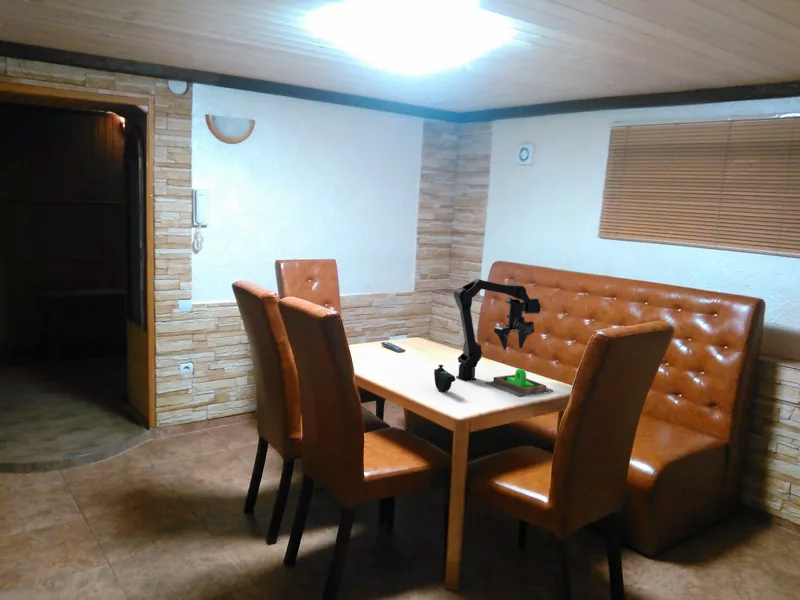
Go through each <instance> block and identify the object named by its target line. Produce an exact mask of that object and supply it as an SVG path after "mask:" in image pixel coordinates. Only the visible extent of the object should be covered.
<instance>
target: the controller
mask: <svg viewBox="0 0 800 600" xmlns="http://www.w3.org/2000/svg"><path fill="white" fill-rule="evenodd" d="M433 370H434V371H433V372H434V373H433V375H434V376H433V377H434V384H435V387H436V390H437V391H439V392H442V393H444V392H445V393H446V392H448V391H450V389H451V387H452V383H454V382H455V381H456V376H455V375H453V374H451V373H450V372H448V370H445V369H444V364H438V367H437V368H434V369H433Z"/></svg>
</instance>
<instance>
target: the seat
mask: <svg viewBox="0 0 800 600" xmlns="http://www.w3.org/2000/svg"><path fill="white" fill-rule="evenodd" d="M507 377H515V374H507V375H500V376H493V381H492V380H491V381H486V382H485V384H486V385H488V384H489V386H491V387H493V386H494V388H495V389H498V388H499V390H501V391H503V390H504V391H503V392H506V393H508V392H509V394H511V395H513V394H514V396H516V397H518V398H520V397H526V396H527V395H528V396H533V395H532V394H534V395H538V394H537V393H541V394H545V393H544V392H547V393H550V392H549V391H553V392H554V389H551V388H548V386H547V385H546V384H542V383H540V382H538V381H534V380H532V379H529V378H527V377H526V381H528V382H530V383H532V384H533V385H534V387H527V388H523V387H521V386H518V385H516V384H513V383H510V382H508V381H507Z"/></svg>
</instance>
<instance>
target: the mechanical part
mask: <svg viewBox="0 0 800 600" xmlns="http://www.w3.org/2000/svg"><path fill="white" fill-rule="evenodd" d="M514 375H515V377H507V381H508V382H510V383H513V384H516V385H518V386H521V387H523V388H527V387H534V385H533V384H532V383H530V382H528V381H526V378H527V374H526V370H525V369H523V368H517V369H516V371H515V373H514Z"/></svg>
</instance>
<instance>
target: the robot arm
mask: <svg viewBox="0 0 800 600" xmlns="http://www.w3.org/2000/svg"><path fill="white" fill-rule="evenodd" d="M481 290H484V291H489V292H496V293H500V294H505V295H507V296H509V297H508V298H507V299H506V300H505V303H506V304H508V305H509V310H508V314H507V315H506V318H507V320H508V321H507V324H506V325H504V326H503V325H498V326H495V327H494V329H493V333H494V334H496V335H497V336H498V338H499V340H500V344H501V346H502V349H503V350H504V351H506V350H507V348H508V347H507V346H508V339H509V337H511V336H510V333H514V332H517V334H518V336H517V337H518V346H519V347H518V348H519V349H522V348H523V346H524V344H525V342H526V340H527V339H528V337H529V336H531V335H532V334H533V333H535V323H534V321H526V320H525V316H523V313H524V314H525V315H538V314H540V312H541V308H542V307H541V304H540V302H539V301H540V298H535V297H534V298H530V297H529V295H528V293H527V288H526V287H525V286H523V285H520V284H516V283H511V284H510V283H509V284H504V283H503V284H501V283H499V282H494V281H493V282H492V281H488V280H483V279H480V278H475V279H474V280H472V281H471V282H468V283H467V284H465V285H463V286H462V287H458V288H456V289H455V290H454V292H453V298H454V301H455V303H456V305H457V307H458V309H459V314H460V320H461V326H462V332H463V338H464V342H463V348H462V349H463V350H462V353H461V354H460V355H459V356H458V357H457V362H458V365H459V366H458V374H457V375H456V376H455V379H456V378H457V379H459V380H461V381H464V382H467V381H469V382H470V381H475V380H477V378H476V367H477V365H478V363H479V361H481V359H482V355H483V352H482V345H481V344H480V343H479V342H477V341H476V336H475V330H474V324H473V319H472V318H473V316H472V309H471V308H472V304H473V298H475V296H476V295H478V293H479V292H480V291H481ZM514 298H515V299H514Z"/></svg>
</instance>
